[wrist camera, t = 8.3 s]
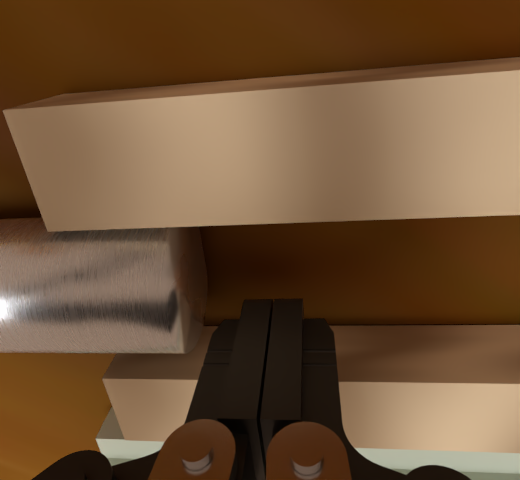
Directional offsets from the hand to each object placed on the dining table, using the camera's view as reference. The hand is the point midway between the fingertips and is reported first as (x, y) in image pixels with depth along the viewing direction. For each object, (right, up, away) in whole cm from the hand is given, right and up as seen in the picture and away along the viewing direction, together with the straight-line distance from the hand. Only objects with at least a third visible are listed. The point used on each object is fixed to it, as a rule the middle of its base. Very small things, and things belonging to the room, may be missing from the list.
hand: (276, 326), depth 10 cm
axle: (-10, +1, +2) cm, 11 cm away
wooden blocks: (+2, +2, +2) cm, 4 cm away
